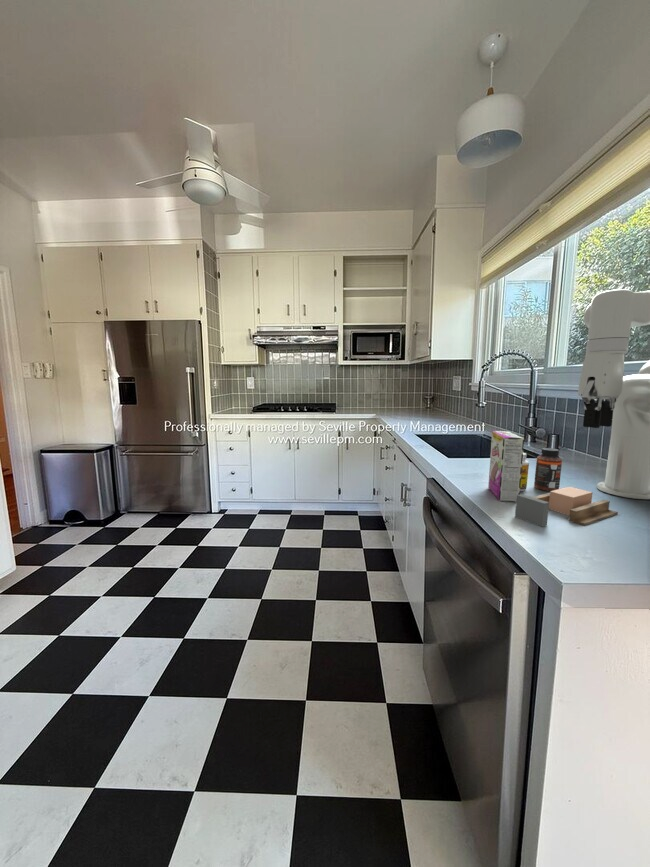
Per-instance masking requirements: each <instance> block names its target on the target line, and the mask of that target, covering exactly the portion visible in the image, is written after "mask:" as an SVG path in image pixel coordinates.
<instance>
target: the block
mask: <svg viewBox="0 0 650 867" xmlns="http://www.w3.org/2000/svg"><path fill="white" fill-rule="evenodd" d="M549 493H550V498H549V510H551V511H554V512H557V513H561V514H562V515H563V514H564V515H566V516H569V514H570V510H571V509H574V508H577V507H581V506H584V505H587V504H591V503H593V502H592V500H593V494H594V493H593V491H588V490H585V489H581V488H576V487H572V486H566V487H562V488H559V489H558V490H554V491H549Z"/></svg>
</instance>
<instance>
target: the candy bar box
mask: <svg viewBox="0 0 650 867" xmlns="http://www.w3.org/2000/svg"><path fill="white" fill-rule="evenodd" d="M524 443H525V438H524V437H522V436H520V435H517V434H516V433H514V432H511V431H507V430H506V431H505V430H493V431H491V441H490V455H489V456H490V457H489V459H490V460H489V473H488V487H487V488H488V489H489V490H490V491H491V493H492V494H493V495H494V496H495V497H496V499H497V500H498V501H499V502H507V503H509V502H510V503H516V499H517V495H520V494H521V491H520V485H521V472H522V460H523V453H524V445H525V444H524Z"/></svg>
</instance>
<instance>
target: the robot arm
mask: <svg viewBox="0 0 650 867" xmlns="http://www.w3.org/2000/svg"><path fill="white" fill-rule="evenodd" d="M583 321H584V322H583V323H584V325H585V327H586V328H587V329H588V331H587V332H588V333H587V340H586V341H587V342H586V349H585V357H584V359H583V363H582V367H581V373H580V377H579V378H580V379H579V383H578V390H577V395H579V396H580V397H581V399H582V401H583V403H584V405H583V406H584V407H583V410H584V413H583V422H582V423H583V425H582V426H583V427H585V428H592V429H599V428H600V427H607V428H608V427H611V431H610V440H609V446H608V447H609V448H608V454H607V456H608V457H607V463H606V471H605V479H604V481H600V482H597V486H596V488H597V489H598V490H599V491H601V492H604V493H606V494H610V495H613V496H618V497H621V498H622V497H623V498H628V499H635V500H636V499H637V500H650V359H649V360H648V361H647V362H646V363H645V364H643V365H642V366H641V368H640V369H639V371H638V373H636V374H630V375H624V373H625V372H624V371H625V355H626V354H628V351H629V343H630V337H631V336H630V335H631V328H636V327H637V328H638V327H642V326H648V325H650V290H644V291H635V292H634V291H633V290H631V289H626V288H625V289H624V288H623V289H622V288H620V289H619V288H618V289H611V290H605V291H601V292H599V293H597V294H595V295H594V296H593V297H592V300H591V303H589V305H588V306H587V307H586V309H585V311H584V313H583Z"/></svg>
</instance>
